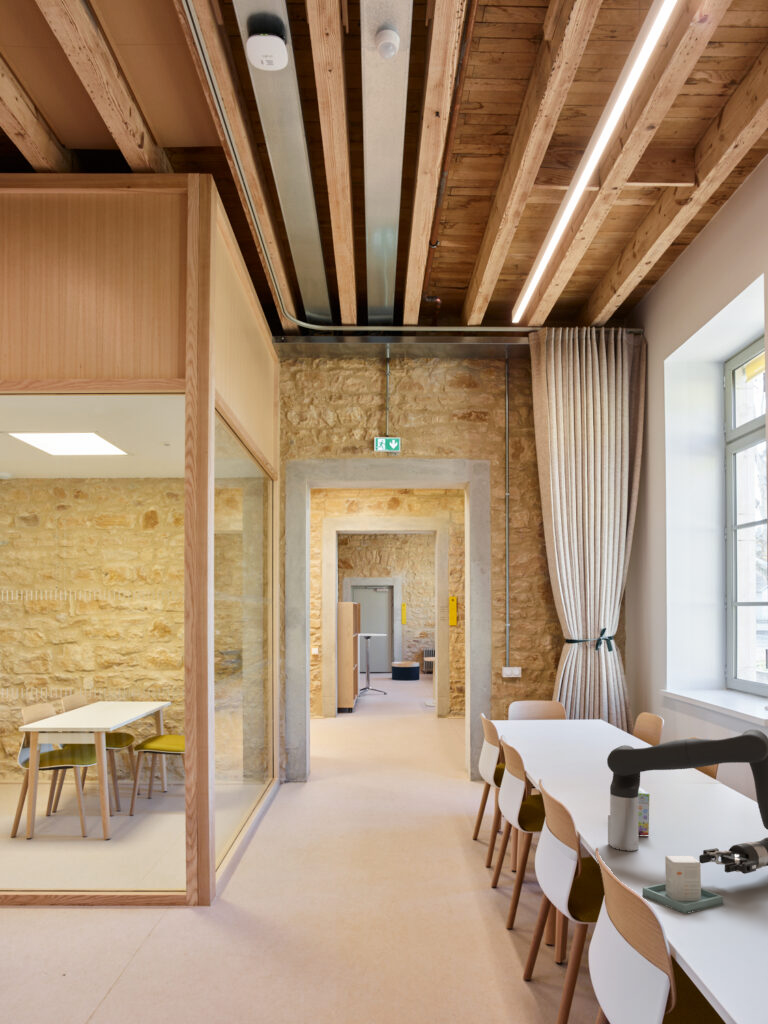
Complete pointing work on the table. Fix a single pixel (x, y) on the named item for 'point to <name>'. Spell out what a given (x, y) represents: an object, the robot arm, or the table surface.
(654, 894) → the tray
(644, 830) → the snack box
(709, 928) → the table surface
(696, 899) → the small box
